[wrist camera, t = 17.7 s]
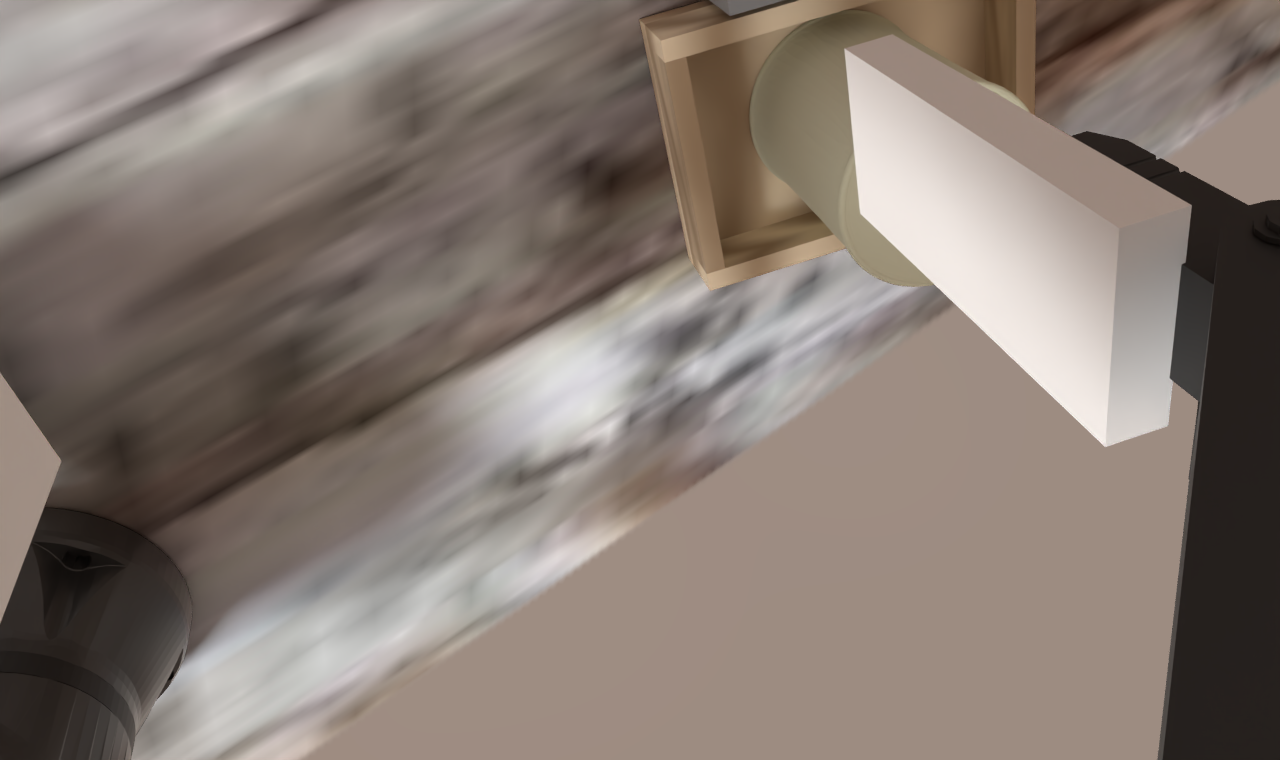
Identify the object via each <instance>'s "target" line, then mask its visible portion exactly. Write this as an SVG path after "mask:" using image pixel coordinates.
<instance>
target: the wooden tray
mask: <svg viewBox="0 0 1280 760" xmlns="http://www.w3.org/2000/svg"><path fill="white" fill-rule="evenodd" d="M843 10H860V11H867V12H871V13H874V14H877V15H880V16H882V17H884V18H886V19H888V20H889V21H891V22H892V23H894V24H895V25H896V26H898V27H899V28H900V29H901V30H902V31H903V32H904V33H905V34H906V35H907V36H909V37H911V38H912V39H914V40H916V41H917V42H919V43H921V44H923V45H924V46H926V47H928V48H929V49H931V50H933V51H935V52H936V53H938V54H940V55H941V56H943V57H945V58H947V59H948V60H950V61H952V62H953V63H955V64H957V65H959V66H961V67H963V68H964V69H966V70H968V71H970V72H972V73H974V74H975V75H977V76H979V77H981V78H983V79H985V80H986V81H989V82H992V83H995V84H997V85H999V86H1002V87H1004V88H1005V89H1007V90H1008V91H1010V92H1012V93H1013V94H1014V95H1016V96H1017V97H1018V98H1019V99H1020V100H1021V101H1022V102H1023V103H1024V104H1025V106H1026V107H1027V108H1028V110H1029V111H1030V113H1031V114H1033V115H1035V38H1036V0H784V1H780V2H777V3H773V4H770V5H766V6H763V7H760V8H756V9H753V10H749V11H746V12H742V13H739V14H735V15H732V16H729V15H728V14H727V13H725V12H724V11H723V10H722V9H720V8H719V7H718V6H716V5H715V4H714V3H712V2H711V1H710V0H704V1H701V2H697V3H694V4H690V5H687V6H683V7H680V8H676V9H673V10H669V11H666V12H663V13H659V14H656V15H652V16H649V17H645V18H642V19H639V21H640V25H641V30H642V35H643V40H644V45H645V50H646V54H647V59H648V64H649V69H650V74H651V79H652V83H653V88H654V93H655V98H656V103H657V107H658V112H659V117H660V122H661V127H662V132H663V136H664V141H665V146H666V151H667V156H668V160H669V165H670V170H671V175H672V180H673V185H674V189H675V194H676V199H677V204H678V209H679V213H680V218H681V223H682V228H683V233H684V238H685V242H686V247H687V252H688V257H689V259H690V260H691V262H692V264H693V265H694V267H695V268H696V270H697V271H698V273H699V274H700V276H701V278H702V279H703V281H704V282H705V284H706V285H707V287H708V288H709V290H710V291H711V290H715V289H718V288H721V287H724V286H727V285H731V284H734V283H737V282H740V281H743V280H746V279H750V278H753V277H756V276H759V275H762V274H766V273H769V272H772V271H775V270H778V269H782V268H785V267H788V266H791V265H794V264H798V263H801V262H804V261H807V260H810V259H814V258H817V257H820V256H823V255H826V254H829V253H833V252H836V251H839V250H842V249H845V248H846V247H845V246H844V245H843V244H842V243H841V241H840V240H839V239H838V238H837V237H836V236H835V235H834V234H833V233H832V231H831V230H830V229H829V228H828V227H827V226H826V225H825V224H824V223H823V222H822V220H821V219H820V218H819V217H818V216H817V215H816V214H815V213H814V212H813V211H812V210H811V209H810V208H809V206H808V205H807V204H806V203H805V202H804V201H803V200H802V199H801V198H800V197H799V196H798V195H797V194H796V193H795V191H794V190H793V189H792V188H791V187H790V186H789V185H788V184H787V183H785V182H784V181H782V180H780V179H779V178H778V177H776V176H775V175H774V174H773V173H772V172H771V171H770V170H769V169H768V168H767V167H766V166H765V164H764V163H763V162H762V160H761V158H760V157H759V155H758V153H757V151H756V149H755V146H754V143H753V140H752V136H751V131H750V123H749V109H750V101H751V95H752V92H753V88H754V84H755V82H756V79H757V77H758V75H759V72H760V70H761V69H762V67H763V65H764V63H765V61H766V60H767V58H768V57H769V55H770V54H771V53H772V51H773V50H774V49H775V48H776V46H777V45H778V44H779V43H780V42H781V41H782V40H783V39H784V38H785V37H786V36H787V35H788V34H790V33H791V32H792V31H793V30H795V29H796V28H797V27H799V26H800V25H802V24H804V23H806V22H807V21H809V20H813V19H816V18H820V17H823V16H826V15H830V14H833V13H837V12H840V11H843Z"/></svg>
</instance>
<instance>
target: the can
mask: <svg viewBox="0 0 1280 760" xmlns="http://www.w3.org/2000/svg"><path fill="white" fill-rule="evenodd" d="M892 34H893V35H894V36H896V37H898V38H900V39H901V40H903V41H905V42H907V43H908V44H910V45H912V46H914V47H916V48H917V49H919V50H921V51H923V52H924V53H926V54H928V55H930V56H931V57H933V58H935V59H937V60H938V61H940V62H942V63H944V64H945V65H947V66H949V67H951V68H952V69H954V70H956V71H958V72H959V73H961V74H963V75H965V76H966V77H968V78H970V79H972V80H973V81H975V82H977V83H979V84H980V85H982V86H984V87H986V88H987V89H989V90H991V91H993V92H994V93H996V94H998V95H1000V96H1001V97H1003V98H1005V99H1007V100H1008V101H1010V102H1012V103H1014V104H1015V105H1017V106H1019V107H1021V108H1022V109H1024V110H1026V111H1028V112H1029V113H1030V111H1029V110H1028V108H1027V107H1026V106H1025V104H1024V103H1023V102H1022V101H1021V100H1020V99H1019V98H1018V97H1017V96H1016V95H1014V94H1013V93H1012V92H1010V91H1008V90H1007V89H1005V88H1004V87H1002V86H999V85H997V84H995V83H992V82H989V81H986V80H985V79H983V78H981V77H979V76H977V75H975V74H974V73H972V72H970V71H968V70H966V69H964V68H963V67H961V66H959V65H957V64H955V63H953V62H952V61H950V60H948V59H947V58H945V57H943V56H941V55H940V54H938V53H936V52H935V51H933V50H931V49H929V48H928V47H926V46H924V45H923V44H921V43H919V42H917V41H916V40H914V39H912V38H911V37H909V36H907V35H906V34H905V33H904V32H903V31H902V30H901V29H900V28H899V27H898V26H896V25H895V24H894V23H892V22H891V21H889V20H888V19H886V18H884V17H882V16H880V15H877V14H874V13H871V12H867V11H860V10H843V11H840V12H837V13H833V14H830V15H826V16H823V17H820V18H816V19H813V20H809V21H807V22H806V23H804V24H802V25H800V26H799V27H797V28H796V29H795V30H793V31H792V32H791V33H790V34H788V35H787V36H786V37H785V38H784V39H783V40H782V41H781V42H780V43H779V44H778V45H777V46H776V48H775V49H774V50H773V51H772V53H771V54H770V55H769V57H768V58H767V60H766V61H765V63H764V65H763V67H762V69H761V70H760V72H759V75H758V77H757V79H756V82H755V84H754V88H753V92H752V95H751V101H750V109H749V123H750V131H751V136H752V140H753V143H754V146H755V149H756V151H757V153H758V155H759V157H760V158H761V160H762V162H763V163H764V164H765V166H766V167H767V168H768V169H769V170H770V171H771V172H772V173H773V174H774V175H775V176H776V177H778V178H779V179H780V180H782V181H784V182H785V183H787V184H788V185H789V186H790V187H791V188H792V189H793V190H794V191H795V193H796V194H797V195H798V196H799V197H800V198H801V199H802V200H803V201H804V202H805V203H806V204H807V205H808V206H809V208H810V209H811V210H812V211H813V212H814V213H815V214H816V215H817V216H818V217H819V218H820V219H821V220H822V222H823V223H824V224H825V225H826V226H827V227H828V228H829V229H830V230H831V231H832V233H833V234H834V235H835V236H836V237H837V238H838V239H839V240H840V241H841V243H842V244H843V245H844V246H845V247H846V248H847V250H848V252H849V253H850V255H851V256H852V257H853V259H854V260H855V261H856V262H857V264H858V265H859V266H860V267H862V268H863V269H864V270H865V271H866V272H868V273H869V274H871V275H872V276H874V277H876V278H878V279H880V280H882V281H885V282H888V283H890V284H894V285H900V286H911V287H918V286H929V285H935V284H934V283H933V282H931V281H930V280H929V279H928V278H927V277H926V276H925V275H924V274H923V273H922V272H921V271H920V270H919V269H918V268H917V267H916V266H915V265H914V264H913V263H912V262H910V261H909V260H908V259H907V258H906V257H905V256H904V255H903V254H902V253H901V252H900V251H899V250H898V249H897V248H896V247H895V246H894V245H893V244H892V243H891V242H889V241H888V240H887V239H886V238H885V237H884V236H883V235H882V234H881V233H880V232H879V231H878V230H877V229H876V228H875V227H874V226H873V225H872V224H871V223H870V222H868V221H867V220H866V219H865V218H864V217H863V216H862V215H861V214H860V207H859V197H858V186H857V176H856V165H855V155H854V144H853V134H852V123H851V113H850V102H849V92H848V81H847V71H846V60H845V50H844V48H848V47H851V46H854V45H858V44H861V43H865V42H868V41H871V40H875V39H878V38H881V37H885V36H888V35H892Z"/></svg>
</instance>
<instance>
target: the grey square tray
mask: <svg viewBox="0 0 1280 760" xmlns="http://www.w3.org/2000/svg"><path fill="white" fill-rule="evenodd" d="M710 1H711V2H712V3H714V4H715V5H716V6H718V7H719V8H720V9H722V10H723V11H724V12H725V13H727V14H728V15H729V16H732V15H735V14H739V13H742V12H746V11H749V10H753V9H756V8H760V7H763V6H766V5H770V4H773V3H777V2H780V1H784V0H710Z"/></svg>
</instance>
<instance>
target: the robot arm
mask: <svg viewBox="0 0 1280 760" xmlns="http://www.w3.org/2000/svg"><path fill="white" fill-rule="evenodd" d="M844 50H845V60H846V71H847V81H848V92H849V102H850V113H851V123H852V134H853V144H854V155H855V165H856V176H857V186H858V197H859V207H860V214H861V215H862V216H863V217H864V218H865V219H866V220H867V221H868V222H870V223H871V224H872V225H873V226H874V227H875V228H876V229H877V230H878V231H879V232H880V233H881V234H882V235H883V236H884V237H885V238H886V239H887V240H888V241H889V242H891V243H892V244H893V245H894V246H895V247H896V248H897V249H898V250H899V251H900V252H901V253H902V254H903V255H904V256H905V257H906V258H907V259H908V260H909V261H910V262H912V263H913V264H914V265H915V266H916V267H917V268H918V269H919V270H920V271H921V272H922V273H923V274H924V275H925V276H926V277H927V278H928V279H929V280H930V281H931V282H933V283H934V284H935V285H936V286H937V287H938V288H939V289H940V290H941V291H942V292H943V293H944V294H945V295H946V296H947V297H948V298H949V299H950V300H951V301H952V302H954V303H955V304H956V305H957V306H958V307H959V308H960V309H961V310H962V311H963V312H964V313H965V314H966V315H967V316H968V317H970V319H971V320H972V321H974V322H975V323H976V324H977V325H978V326H979V327H980V328H981V329H982V330H983V331H984V332H985V333H986V334H987V335H988V336H989V337H990V338H991V339H993V340H994V341H995V342H996V343H997V344H998V345H999V346H1000V347H1001V348H1002V349H1003V350H1004V351H1005V352H1006V353H1007V354H1008V355H1009V356H1010V357H1011V358H1013V359H1014V361H1016V362H1017V363H1018V364H1019V365H1020V366H1021V367H1022V368H1023V369H1024V370H1025V371H1026V372H1027V373H1028V374H1029V375H1030V376H1031V377H1032V378H1033V379H1034V380H1036V381H1037V382H1038V383H1039V384H1040V385H1041V386H1042V387H1043V388H1044V389H1045V390H1046V391H1047V392H1048V393H1049V394H1050V395H1051V396H1052V397H1053V398H1054V399H1055V400H1056V401H1058V402H1059V403H1060V404H1061V405H1062V406H1063V407H1064V408H1065V409H1066V410H1067V411H1068V412H1069V413H1070V414H1071V415H1072V416H1073V417H1074V418H1075V419H1076V420H1077V421H1079V422H1080V423H1081V424H1082V425H1083V426H1084V427H1085V428H1086V429H1087V430H1088V431H1089V432H1090V433H1091V434H1092V435H1093V436H1094V437H1095V438H1096V439H1098V441H1100V442H1101V443H1102V444H1103V445H1104V446H1105V447H1106V446H1110V445H1113V444H1116V443H1118V442H1122V441H1125V440H1127V439H1130V438H1133V437H1136V436H1139V435H1142V434H1145V433H1148V432H1151V431H1154V430H1157V429H1160V428H1163V427H1166V426H1168V420H1169V411H1170V402H1171V393H1172V384H1173V381H1174V382H1175V383H1176V384H1178V385H1179V386H1180V387H1181V388H1183V389H1184V390H1185V391H1186V392H1188V393H1189V394H1190V395H1191V396H1193V397H1194V398H1195V399H1196V400H1198V409H1197V417H1196V425H1195V433H1194V440H1193V448H1192V456H1191V464H1190V472H1189V486H1188V495H1187V505H1186V513H1185V522H1184V531H1183V539H1182V548H1181V558H1180V567H1179V575H1178V584H1177V593H1176V601H1175V611H1174V619H1173V628H1172V636H1171V645H1170V654H1169V663H1168V672H1167V681H1166V690H1165V698H1164V707H1163V716H1162V725H1161V734H1160V743H1159V751H1158V760H1280V200H1270V201H1265V202H1261V203H1257V204H1253V205H1247V204H1245V203H1243V202H1241V201H1240V200H1238V199H1236V198H1234V197H1232V196H1230V195H1228V194H1226V193H1224V192H1223V191H1221V190H1219V189H1217V188H1215V187H1213V186H1211V185H1210V184H1208V183H1206V182H1204V181H1202V180H1200V179H1198V178H1197V177H1195V176H1193V175H1191V174H1189V173H1187V172H1185V171H1184V172H1181V173H1180V172H1179V168H1178V167H1176V166H1174V165H1172V164H1170V163H1169V162H1167V161H1165V160H1163V159H1158V160H1156V156H1155V155H1154V154H1152V153H1150V152H1148V151H1146V150H1144V149H1142V148H1141V147H1139V146H1137V145H1135V144H1133V143H1131V142H1129V141H1127V140H1124V139H1119V138H1115V137H1110V136H1106V135H1101V134H1097V133H1092V132H1088V131H1086V132H1083V133H1080V134H1077V135H1073V136H1070V135H1068V134H1066V133H1064V132H1063V131H1061V130H1059V129H1057V128H1056V127H1054V126H1052V125H1050V124H1049V123H1047V122H1045V121H1043V120H1042V119H1040V118H1038V117H1036V116H1035V115H1033V114H1031V113H1029V112H1028V111H1026V110H1024V109H1022V108H1021V107H1019V106H1017V105H1015V104H1014V103H1012V102H1010V101H1008V100H1007V99H1005V98H1003V97H1001V96H1000V95H998V94H996V93H994V92H993V91H991V90H989V89H987V88H986V87H984V86H982V85H980V84H979V83H977V82H975V81H973V80H972V79H970V78H968V77H966V76H965V75H963V74H961V73H959V72H958V71H956V70H954V69H952V68H951V67H949V66H947V65H945V64H944V63H942V62H940V61H938V60H937V59H935V58H933V57H931V56H930V55H928V54H926V53H924V52H923V51H921V50H919V49H917V48H916V47H914V46H912V45H910V44H908V43H907V42H905V41H903V40H901V39H900V38H898V37H896V36H894V35H893V34H892V35H888V36H885V37H881V38H878V39H875V40H871V41H868V42H865V43H861V44H858V45H854V46H851V47H848V48H844ZM60 464H61V460H60V458H59V457H58V455H57V454H56V452H55V451H54V449H53V448H52V447H51V445H50V444H49V442H48V441H47V439H46V438H45V436H44V435H43V434H42V432H41V431H40V429H39V428H38V426H37V425H36V423H35V422H34V421H33V419H32V418H31V416H30V415H29V413H28V412H27V410H26V409H25V408H24V406H23V405H22V403H21V402H20V400H19V399H18V398H17V396H16V395H15V393H14V392H13V390H12V389H11V387H10V386H9V385H8V383H7V382H6V380H5V379H4V377H3V376H2V374H1V373H0V760H131V756H132V751H133V747H134V741H135V736H136V735H137V733H138V732H139V730H140V729H141V727H142V725H143V724H144V722H145V720H146V719H147V717H148V715H149V713H150V711H151V708H152V707H153V705H154V703H155V702H156V700H157V699H158V698H159V697H160V696H161V695H162V694H163V693H164V691H165V690H166V689H167V688H168V687H169V685H170V684H171V682H172V681H173V679H174V678H175V676H176V674H177V673H178V671H179V669H180V667H181V664H182V662H183V659H184V657H185V653H186V650H187V645H188V639H189V633H190V627H191V622H192V603H191V598H190V594H189V590H188V588H187V585H186V583H185V581H184V579H183V577H182V575H181V574H180V572H179V570H178V569H177V568H176V566H175V565H174V564H173V563H172V561H171V560H170V559H169V558H168V557H167V556H166V555H165V554H164V553H163V552H162V551H161V550H160V549H158V548H157V547H156V546H155V545H154V544H152V543H151V542H149V541H148V540H147V539H145V538H144V537H142V536H140V535H139V534H137V533H135V532H133V531H132V530H130V529H128V528H125V527H123V526H121V525H119V524H116V523H114V522H111V521H109V520H106V519H103V518H100V517H97V516H93V515H89V514H85V513H81V512H76V511H70V510H63V509H54V508H44V506H45V504H46V501H47V498H48V496H49V493H50V490H51V488H52V485H53V483H54V480H55V477H56V475H57V472H58V469H59V467H60Z"/></svg>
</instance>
